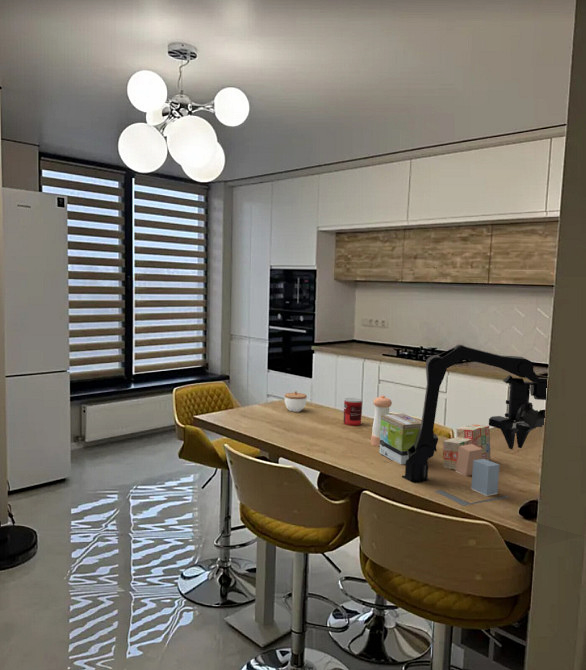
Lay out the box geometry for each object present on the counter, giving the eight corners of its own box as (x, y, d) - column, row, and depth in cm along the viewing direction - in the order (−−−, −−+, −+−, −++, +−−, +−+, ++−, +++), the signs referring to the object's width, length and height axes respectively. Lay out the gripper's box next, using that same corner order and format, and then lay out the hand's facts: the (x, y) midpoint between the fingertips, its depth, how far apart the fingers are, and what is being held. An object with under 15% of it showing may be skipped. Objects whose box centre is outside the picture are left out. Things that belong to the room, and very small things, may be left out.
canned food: (348, 420, 255) (349, 397, 255) (364, 423, 251) (365, 399, 250) (339, 423, 249) (341, 399, 248) (355, 426, 245) (357, 402, 244)
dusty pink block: (478, 474, 185) (482, 449, 184) (465, 477, 182) (469, 451, 181) (468, 469, 189) (472, 443, 187) (455, 471, 186) (459, 446, 185)
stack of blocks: (460, 471, 186) (458, 433, 186) (443, 468, 191) (442, 432, 191) (490, 459, 201) (489, 425, 201) (474, 457, 206) (473, 423, 206)
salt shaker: (368, 445, 216) (371, 396, 214) (373, 440, 223) (375, 393, 221) (387, 447, 213) (390, 398, 212) (391, 443, 220) (394, 395, 219)
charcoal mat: (463, 507, 157) (463, 505, 157) (434, 492, 167) (434, 491, 167) (509, 498, 165) (509, 496, 165) (478, 484, 176) (479, 483, 176)
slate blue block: (486, 496, 165) (488, 466, 164) (471, 489, 170) (473, 460, 169) (497, 494, 167) (499, 464, 166) (482, 487, 172) (484, 458, 171)
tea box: (378, 453, 205) (380, 413, 204) (401, 451, 209) (403, 412, 208) (400, 466, 191) (403, 423, 190) (425, 464, 195) (428, 422, 194)
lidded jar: (306, 408, 278) (307, 390, 277) (305, 413, 267) (306, 394, 266) (285, 407, 279) (285, 388, 278) (282, 412, 268) (283, 392, 267)
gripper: (519, 405, 160) (515, 459, 162) (562, 401, 169) (558, 452, 170) (489, 398, 170) (485, 448, 171) (531, 394, 179) (528, 443, 180)
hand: (515, 448), depth 173 cm, fingers open, 4 cm apart
